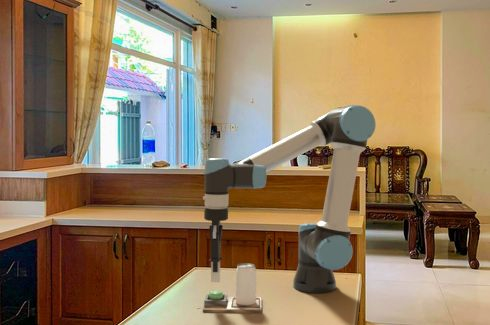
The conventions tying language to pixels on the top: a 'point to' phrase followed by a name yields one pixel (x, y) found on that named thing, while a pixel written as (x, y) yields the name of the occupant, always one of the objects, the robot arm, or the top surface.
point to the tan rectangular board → (231, 305)
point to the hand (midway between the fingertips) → (215, 281)
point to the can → (246, 284)
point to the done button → (216, 295)
